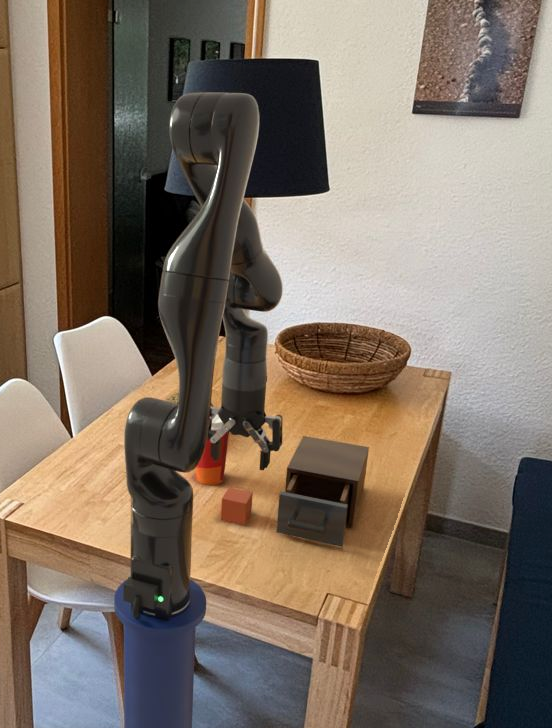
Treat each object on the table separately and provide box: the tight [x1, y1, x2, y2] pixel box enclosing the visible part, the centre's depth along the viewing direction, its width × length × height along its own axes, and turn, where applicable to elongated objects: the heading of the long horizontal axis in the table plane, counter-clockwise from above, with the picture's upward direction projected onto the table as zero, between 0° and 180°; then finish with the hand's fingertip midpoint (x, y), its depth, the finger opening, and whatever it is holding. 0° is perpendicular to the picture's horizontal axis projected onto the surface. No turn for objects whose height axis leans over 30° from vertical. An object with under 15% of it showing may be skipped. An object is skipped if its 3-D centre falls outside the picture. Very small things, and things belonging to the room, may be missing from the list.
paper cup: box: [194, 415, 230, 486], centre depth 154 cm, size 8×8×14 cm
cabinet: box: [284, 435, 370, 528], centre depth 146 cm, size 15×13×10 cm
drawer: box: [275, 473, 353, 548], centre depth 137 cm, size 18×11×8 cm, turn 156°
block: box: [220, 486, 254, 526], centre depth 142 cm, size 5×5×5 cm
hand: (239, 464), depth 139 cm, fingers open, 8 cm apart
